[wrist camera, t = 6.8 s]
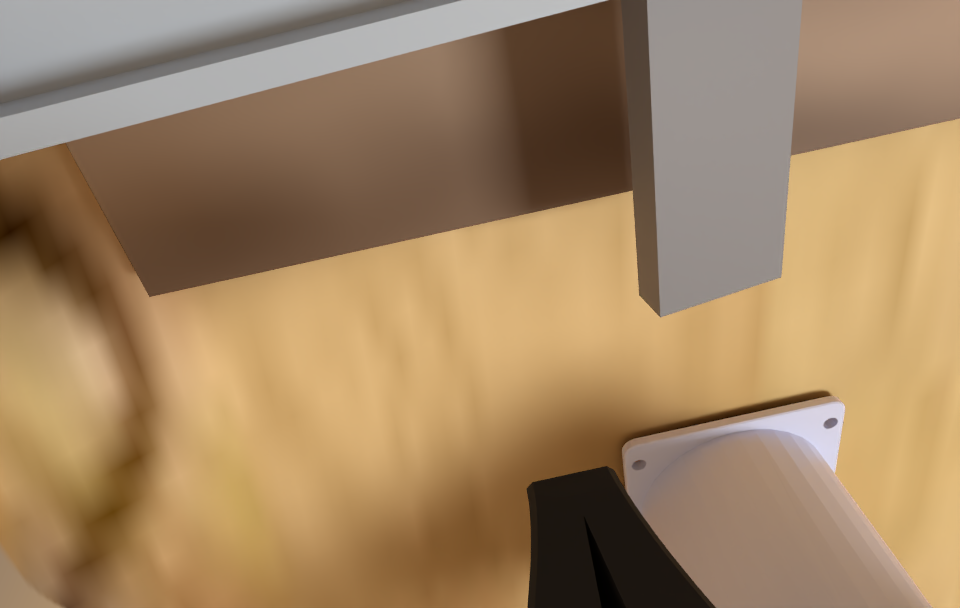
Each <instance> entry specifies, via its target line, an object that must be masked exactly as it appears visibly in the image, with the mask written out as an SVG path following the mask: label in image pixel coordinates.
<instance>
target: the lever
mask: <svg viewBox="0 0 960 608" xmlns="http://www.w3.org/2000/svg"><path fill="white" fill-rule="evenodd" d="M603 1H607V0H0V160H1V159H5V158H9V157H12V156H16V155H20V154H24V153H28V152H31V151H35V150H39V149H43V148H47V147H51V146H54V145H58V144H62V143H66V142H70V141H73V140H77V139H81V138H85V137H89V136H92V135H96V134H100V133H104V132H108V131H111V130H115V129H119V128H123V127H127V126H131V125H134V124H138V123H142V122H146V121H150V120H153V119H157V118H161V117H165V116H169V115H172V114H176V113H180V112H184V111H188V110H191V109H195V108H199V107H203V106H207V105H210V104H214V103H218V102H222V101H226V100H230V99H233V98H237V97H241V96H245V95H249V94H252V93H256V92H260V91H264V90H268V89H271V88H275V87H279V86H283V85H287V84H290V83H294V82H298V81H302V80H306V79H309V78H313V77H317V76H321V75H325V74H329V73H332V72H336V71H340V70H344V69H348V68H351V67H355V66H359V65H363V64H367V63H370V62H374V61H378V60H382V59H386V58H389V57H393V56H397V55H401V54H405V53H409V52H412V51H416V50H420V49H424V48H428V47H431V46H435V45H439V44H443V43H447V42H450V41H454V40H458V39H462V38H466V37H469V36H473V35H477V34H481V33H485V32H488V31H492V30H496V29H500V28H504V27H508V26H511V25H515V24H519V23H523V22H527V21H530V20H534V19H538V18H542V17H546V16H549V15H553V14H557V13H561V12H565V11H568V10H572V9H576V8H580V7H584V6H588V5H591V4H595V3H599V2H603ZM621 8H622V24H623V40H624V56H625V72H626V88H627V104H628V121H629V137H630V153H631V169H632V185H633V201H634V217H635V233H636V249H637V265H638V281H639V295H640V296H641V297H642V298H643V299H644V300H645V302H646V303H647V304H648V305H649V306H650V307H651V308H652V309H653V310H654V311H655V312H656V313H657V314H658V315H659V316H660V317H663V316H666V315H669V314H672V313H675V312H678V311H681V310H684V309H687V308H690V307H693V306H696V305H699V304H702V303H705V302H708V301H711V300H714V299H717V298H720V297H723V296H726V295H729V294H732V293H735V292H738V291H741V290H744V289H747V288H750V287H753V286H756V285H759V284H762V283H765V282H768V281H771V280H774V279H777V278H780V277H781V273H782V260H783V247H784V234H785V221H786V208H787V195H788V182H789V169H790V156H791V143H792V130H793V117H794V104H795V91H796V78H797V65H798V52H799V39H800V26H801V13H802V0H621Z"/></svg>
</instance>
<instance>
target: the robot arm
mask: <svg viewBox="0 0 960 608" xmlns="http://www.w3.org/2000/svg"><path fill="white" fill-rule="evenodd" d="M844 413H845V405H844V404H843V403H842V402H841V401H840V399H839V398H838V397H835V396H827V397H822V398H818V399H813V400H808V401H804V402H799V403H795V404H790V405H786V406H781V407H776V408H772V409H767V410H763V411H758V412H754V413H749V414H745V415H740V416H735V417H731V418H726V419H722V420H717V421H713V422H708V423H703V424H699V425H694V426H690V427H685V428H681V429H676V430H671V431H667V432H662V433H658V434H653V435H649V436H644V437H640V438H635V439H632V440H629V441H628V442H627V443H625V445H624V446H623V448H622V458H623V469H624V480H625V488H624V487H623V485H622V483H621V482H620V480H619V478H618V477H617V475H616V473H615V471H614V470H613V469H611V468H609V467H607V466H605V467H601V468H596V469H591V470H587V471H582V472H578V473H573V474H569V475H564V476H559V477H555V478H550V479H546V480H541V481H537V482H532V484H531V485H530V486H529V487H528V488H527V494H528V499H529V507H530V519H531V567H530V581H529V595H528V608H933V607H932V606H931V605H930V603H929V602H928V601H927V599H926V598H925V597H924V595H923V594H922V592H921V591H920V590H919V588H918V587H917V586H916V584H915V583H914V581H913V580H912V579H911V577H910V576H909V575H908V573H907V572H906V570H905V569H904V568H903V566H902V565H901V564H900V562H899V561H898V560H897V558H896V557H895V555H894V554H893V553H892V551H891V550H890V549H889V547H888V546H887V544H886V543H885V542H884V540H883V539H882V538H881V536H880V535H879V533H878V532H877V531H876V529H875V528H874V527H873V525H872V524H871V523H870V521H869V520H868V518H867V517H866V516H865V514H864V513H863V512H862V510H861V509H860V507H859V506H858V505H857V503H856V502H855V501H854V499H853V498H852V496H851V495H850V494H849V492H848V491H847V490H846V488H845V487H844V486H843V484H842V483H841V481H840V480H839V479H838V477H837V476H836V475H835V469H836V463H837V457H838V451H839V444H840V438H841V432H842V425H843V419H844ZM827 419H828V420H827ZM638 460H640V461H638ZM635 461H638V462H635Z"/></svg>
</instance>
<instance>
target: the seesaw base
mask: <svg viewBox="0 0 960 608" xmlns="http://www.w3.org/2000/svg"><path fill="white" fill-rule="evenodd" d="M959 118H960V0H802V13H801V26H800V39H799V52H798V65H797V78H796V91H795V104H794V117H793V130H792V143H791V155H796V154H800V153H805V152H809V151H814V150H818V149H823V148H827V147H832V146H836V145H841V144H846V143H850V142H855V141H859V140H864V139H868V138H873V137H877V136H882V135H886V134H891V133H896V132H900V131H905V130H909V129H914V128H918V127H923V126H927V125H932V124H936V123H941V122H945V121H950V120H955V119H959ZM66 145H67V147H68V149H69V151H70V152H71V154H72V156H73V158H74V160H75V162H76V163H77V165H78V167H79V169H80V171H81V173H82V174H83V176H84V178H85V180H86V182H87V183H88V185H89V187H90V189H91V191H92V193H93V194H94V196H95V198H96V200H97V202H98V204H99V205H100V207H101V209H102V211H103V213H104V214H105V216H106V218H107V220H108V222H109V224H110V225H111V227H112V229H113V231H114V233H115V235H116V236H117V238H118V240H119V242H120V244H121V246H122V247H123V249H124V251H125V253H126V255H127V256H128V258H129V260H130V262H131V264H132V266H133V267H134V269H135V271H136V273H137V275H138V277H139V278H140V280H141V282H142V284H143V286H144V287H145V289H146V291H147V293H148V295H149V297H151V296H156V295H160V294H165V293H169V292H174V291H178V290H183V289H187V288H192V287H196V286H201V285H205V284H210V283H215V282H219V281H224V280H228V279H233V278H237V277H242V276H246V275H251V274H255V273H260V272H264V271H269V270H274V269H278V268H283V267H287V266H292V265H296V264H301V263H305V262H310V261H314V260H319V259H324V258H328V257H333V256H337V255H342V254H346V253H351V252H355V251H360V250H364V249H369V248H373V247H378V246H383V245H387V244H392V243H396V242H401V241H405V240H410V239H414V238H419V237H423V236H428V235H432V234H437V233H442V232H446V231H451V230H455V229H460V228H464V227H469V226H473V225H478V224H482V223H487V222H491V221H496V220H501V219H505V218H510V217H514V216H519V215H523V214H528V213H532V212H537V211H541V210H546V209H550V208H555V207H560V206H564V205H569V204H573V203H578V202H582V201H587V200H591V199H596V198H600V197H605V196H610V195H614V194H619V193H623V192H628V191H632V190H633V185H632V169H631V153H630V137H629V121H628V104H627V88H626V72H625V56H624V40H623V24H622V8H621V0H607V1H603V2H599V3H595V4H591V5H588V6H584V7H580V8H576V9H572V10H568V11H565V12H561V13H557V14H553V15H549V16H546V17H542V18H538V19H534V20H530V21H527V22H523V23H519V24H515V25H511V26H508V27H504V28H500V29H496V30H492V31H488V32H485V33H481V34H477V35H473V36H469V37H466V38H462V39H458V40H454V41H450V42H447V43H443V44H439V45H435V46H431V47H428V48H424V49H420V50H416V51H412V52H409V53H405V54H401V55H397V56H393V57H389V58H386V59H382V60H378V61H374V62H370V63H367V64H363V65H359V66H355V67H351V68H348V69H344V70H340V71H336V72H332V73H329V74H325V75H321V76H317V77H313V78H309V79H306V80H302V81H298V82H294V83H290V84H287V85H283V86H279V87H275V88H271V89H268V90H264V91H260V92H256V93H252V94H249V95H245V96H241V97H237V98H233V99H230V100H226V101H222V102H218V103H214V104H210V105H207V106H203V107H199V108H195V109H191V110H188V111H184V112H180V113H176V114H172V115H169V116H165V117H161V118H157V119H153V120H150V121H146V122H142V123H138V124H134V125H131V126H127V127H123V128H119V129H115V130H111V131H108V132H104V133H100V134H96V135H92V136H89V137H85V138H81V139H77V140H73V141H70V142H66Z"/></svg>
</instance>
